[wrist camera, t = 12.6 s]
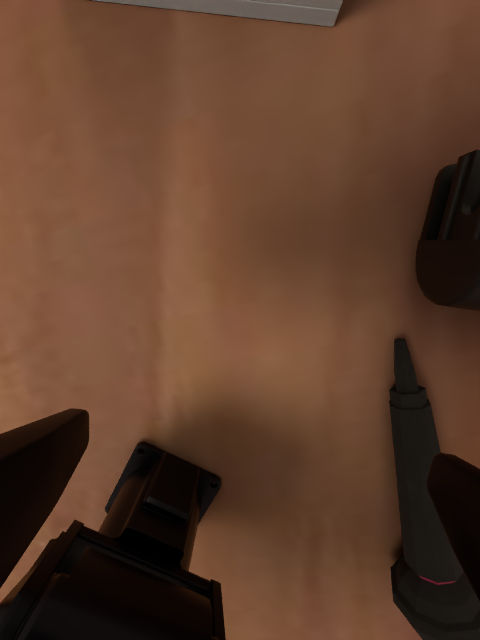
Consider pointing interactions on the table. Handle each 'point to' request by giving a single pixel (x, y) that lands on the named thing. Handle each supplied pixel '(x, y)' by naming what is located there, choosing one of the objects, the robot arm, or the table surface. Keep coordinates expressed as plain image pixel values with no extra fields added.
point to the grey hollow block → (255, 8)
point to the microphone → (424, 522)
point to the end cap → (452, 237)
